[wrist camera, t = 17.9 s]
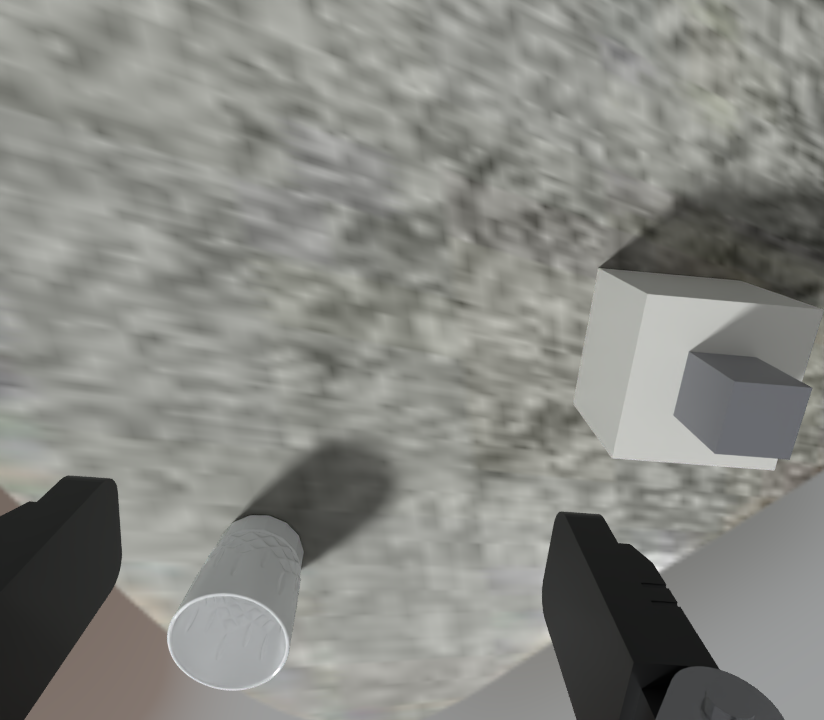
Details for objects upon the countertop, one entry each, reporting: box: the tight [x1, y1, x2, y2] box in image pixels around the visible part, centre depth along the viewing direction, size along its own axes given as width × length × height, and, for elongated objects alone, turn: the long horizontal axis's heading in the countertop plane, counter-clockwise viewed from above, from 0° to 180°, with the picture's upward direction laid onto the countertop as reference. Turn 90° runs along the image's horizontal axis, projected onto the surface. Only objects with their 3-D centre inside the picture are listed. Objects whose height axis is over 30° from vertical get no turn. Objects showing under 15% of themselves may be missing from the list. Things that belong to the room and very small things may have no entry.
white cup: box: [167, 515, 304, 690], centre depth 44 cm, size 8×8×10 cm
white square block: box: [573, 268, 824, 470], centre depth 37 cm, size 10×10×14 cm
